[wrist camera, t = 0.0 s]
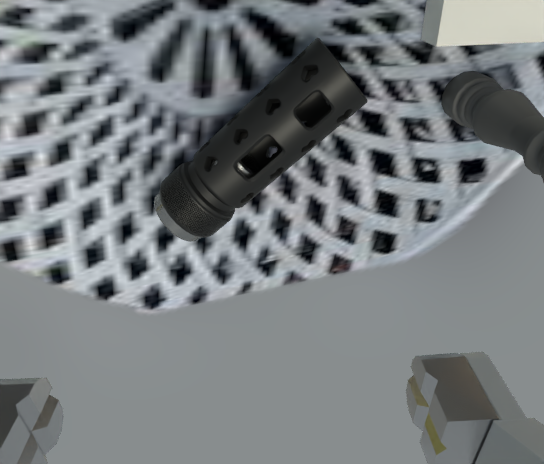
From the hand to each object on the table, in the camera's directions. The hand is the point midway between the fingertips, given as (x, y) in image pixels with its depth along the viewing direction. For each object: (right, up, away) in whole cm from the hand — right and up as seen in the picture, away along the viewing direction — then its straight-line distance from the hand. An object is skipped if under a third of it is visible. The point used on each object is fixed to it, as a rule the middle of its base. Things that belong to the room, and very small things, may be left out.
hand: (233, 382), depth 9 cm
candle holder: (+26, +21, +45) cm, 56 cm away
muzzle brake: (-2, +17, +47) cm, 50 cm away
